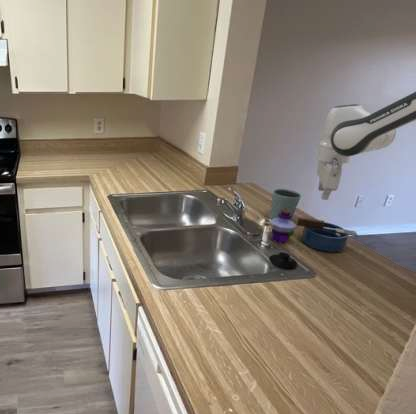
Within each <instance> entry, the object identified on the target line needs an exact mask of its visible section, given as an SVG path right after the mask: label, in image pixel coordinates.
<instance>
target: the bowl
mask: <svg viewBox="0 0 416 414" xmlns="http://www.w3.org/2000/svg"><path fill="white" fill-rule="evenodd" d="M324 222H325V224H324V227H327V228H333V229H335V228H337V229H344V228H343V227H342V226H339V225H337V224H334V223H330V222H326V221H324ZM349 236H350V235H347V234H342V233H336V231H330V230H324V229H323V230H321V229H316V228H310V227H304V226H303V230H302V233H301V237H300V239H301V241H302V242H303V243H304V244H305V245H306V246H307V247H310V248H312V249H314V250H317V251H321V252H327V253H337V252H342V251H343V250H344V249H345V247H346V244H347V241H348V239H349Z"/></svg>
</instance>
